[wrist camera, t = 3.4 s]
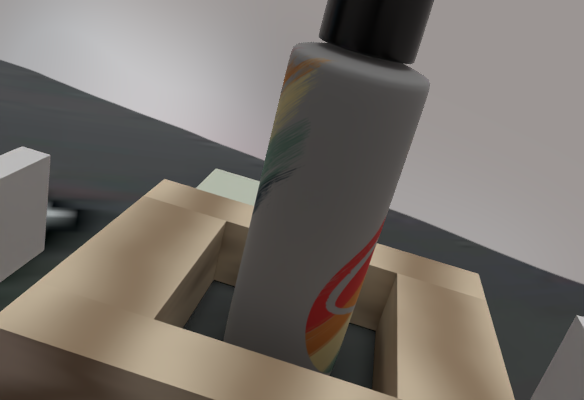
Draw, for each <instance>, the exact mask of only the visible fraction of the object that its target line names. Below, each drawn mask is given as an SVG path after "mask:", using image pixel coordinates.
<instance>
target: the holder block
mask: <svg viewBox="0 0 584 400" xmlns="http://www.w3.org/2000/svg"><path fill="white" fill-rule="evenodd" d="M253 209H254V206H252V205H249V204H245V203H242V202H239V201H235V200H232V199H229V198H225V197H222V196H219V195H216V194H212V193H209V192H206V191H202V190H199V189H196V188H192V187H189V186H186V185H183V184H179V183H176V182H173V181H169V180H166V179H164V180H163V181H162V182H160V183H159V184H158V185H157V186H155V187H154V188H153V189H152V190H150V191H149V192H148V193H147V194H145V195H144V196H143V197H142V198H141V199H139V200H138V201H137V202H136V203H134V204H133V205H132V206H131V207H129V208H128V209H127V210H126V211H124V212H123V213H122V214H121V215H120V216H118V217H117V218H116V219H115V220H113V221H112V222H111V223H110V224H108V225H107V226H106V227H105V228H103V229H102V230H101V231H100V232H99V233H97V234H96V235H95V236H94V237H92V238H91V239H90V240H89V241H87V242H86V243H85V244H84V245H82V246H81V247H80V248H79V249H78V250H76V251H75V252H74V253H73V254H71V255H70V256H69V257H68V258H66V259H65V260H64V261H63V262H61V263H60V264H59V265H58V266H57V267H55V268H54V269H53V270H52V271H50V272H49V273H48V274H47V275H45V276H44V277H43V278H42V279H40V280H39V281H38V282H37V283H36V284H34V285H33V286H32V287H31V288H29V289H28V290H27V291H26V292H24V293H23V294H22V295H21V296H19V297H18V298H17V299H16V300H15V301H13V302H12V303H11V304H10V305H8V306H7V307H6V308H5V309H3V310H2V311H1V312H0V400H515V399H514V396H513V392H512V389H511V385H510V382H509V378H508V375H507V371H506V368H505V364H504V361H503V357H502V354H501V351H500V347H499V344H498V340H497V337H496V333H495V330H494V326H493V323H492V319H491V316H490V312H489V309H488V305H487V302H486V299H485V295H484V292H483V288H482V285H481V281H480V278H479V274H477V273H473V272H470V271H467V270H463V269H460V268H457V267H454V266H450V265H447V264H444V263H440V262H437V261H434V260H430V259H427V258H424V257H421V256H417V255H414V254H411V253H407V252H404V251H401V250H397V249H394V248H391V247H387V246H384V245H381V244H378V243H377V244H376V247H375V250H374V253H373V255H372V258H371V261H370V264H369V267H368V270H367V273H366V276H365V279H364V281H363V284H362V287H361V290H360V293H359V296H358V299H357V302H356V305H355V307H354V310H353V313H352V316H351V319H350V323H353V324H356V325H359V326H362V327H365V328H369V329H372V330H375V331H376V336H375V353H374V369H373V385H372V390H371V389H368V388H365V387H362V386H358V385H355V384H352V383H349V382H346V381H343V380H340V379H337V378H334V377H331V376H328V375H324V374H321V373H318V372H315V371H312V370H309V369H306V368H303V367H300V366H297V365H294V364H290V363H287V362H284V361H281V360H278V359H275V358H272V357H269V356H266V355H263V354H260V353H257V352H253V351H250V350H247V349H244V348H241V347H238V346H235V345H232V344H229V343H226V342H223V341H219V340H216V339H213V338H210V337H207V336H204V335H201V334H198V333H195V332H192V331H189V330H185V329H183V327H184V326H185V324H186V322H187V321H188V319H189V318H190V316H191V315H192V313H193V311H194V310H195V308H196V307H197V305H198V304H199V302H200V300H201V299H202V297H203V296H204V294H205V293H206V291H207V289H208V288H209V286H210V285H211V283H212V281H213V280H216V281H219V282H223V283H226V284H229V285H232V286H235V285H236V281H237V277H238V273H239V268H240V264H241V260H242V256H243V251H244V247H245V243H246V239H247V235H248V230H249V226H250V222H251V218H252V213H253Z"/></svg>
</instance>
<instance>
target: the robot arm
mask: <svg viewBox="0 0 584 400" xmlns="http://www.w3.org/2000/svg"><path fill="white" fill-rule="evenodd" d="M49 170H50V155H49V154H45V153H42V152H39V151H35V150H32V149H29V148H26V147H20V148H17V149H15V150H12V151H10V152H8V153H5V154H3V155H0V282H1V281H2V280H4V279H5V278H7V277H8V276H9V275H11V274H12V273H13V272H15V271H16V270H17V269H19V268H20V267H22V266H23V265H24V264H26V263H27V262H28V261H30V260H31V259H32V258H34V257H35V256H37V255H38V254H39V253H41V252H42V251H43V250H44V244H45V229H46V214H47V200H48V185H49ZM530 400H584V317H581V316H578V315H576V317H575V319H574V321H573V323H572V325H571V326H570V328H569V330H568V332H567V334H566V335H565V337H564V339H563V341H562V343H561V345H560V346H559V348H558V350H557V352H556V354H555V356H554V357H553V359H552V361H551V363H550V365H549V367H548V368H547V370H546V372H545V374H544V376H543V378H542V379H541V381H540V383H539V385H538V387H537V389H536V390H535V392H534V394H533V396H532V398H531V399H530Z"/></svg>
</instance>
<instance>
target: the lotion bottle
mask: <svg viewBox="0 0 584 400" xmlns="http://www.w3.org/2000/svg"><path fill="white" fill-rule="evenodd" d="M433 2H434V0H328V1H327V5H326V9H325V13H324V17H323V21H322V25H321V28H320V33H319V38H321V39H322V40H323V41H325V42H328V43H314V42H313V43H312V42H310V43H309V42H308V43H299V44H296V45H295V46H294V47H293V49H292V52H291V55H290V59H289V63H288V66H287V71H286V74H285V79H284V83H283V87H282V91H281V95H280V99H279V103H278V108H277V112H276V116H275V121H274V125H273V129H272V133H271V137H270V142H269V146H268V150H267V154H266V158H265V163H264V167H263V171H262V175H261V180H260V184H259V188H258V192H257V196H256V201H255V205H254V209H253V213H252V218H251V222H250V226H249V230H248V235H247V239H246V243H245V247H244V251H243V256H242V260H241V264H240V268H239V273H238V277H237V281H236V285H235V290H234V294H233V298H232V302H231V307H230V311H229V315H228V320H227V324H226V329H225V334H224V341H223V342H226V343H229V344H232V345H235V346H238V347H241V348H244V349H247V350H250V351H253V352H257V353H260V354H263V355H266V356H269V357H272V358H275V359H278V360H281V361H284V362H287V363H290V364H294V365H297V366H300V367H303V368H306V369H309V370H312V371H315V372H318V373H321V374H324V375H328V376H330V373H331V371H332V369H333V366H334V364H335V361H336V359H337V356H338V353H339V350H340V348H341V345H342V342H343V339H344V336H345V333H346V330H347V328H348V325H349V322H350V319H351V316H352V313H353V310H354V307H355V305H356V302H357V299H358V296H359V293H360V290H361V287H362V284H363V281H364V279H365V276H366V273H367V270H368V267H369V264H370V261H371V258H372V255H373V253H374V250H375V247H376V244H377V241H378V238H379V235H380V232H381V229H382V227H383V224H384V221H385V218H386V215H387V212H388V209H389V206H390V203H391V201H392V198H393V195H394V192H395V189H396V186H397V183H398V180H399V178H400V175H401V172H402V169H403V166H404V163H405V160H406V157H407V154H408V151H409V149H410V146H411V143H412V140H413V137H414V134H415V131H416V128H417V125H418V122H419V119H420V116H421V114H422V111H423V108H424V104H425V101H426V98H427V95H428V92H429V87H430V83H429V80H428V79H427V78H426V77H425V76H424V75H422V74H420V73H419V72H417V71H415V70H414V69H412V68H410V67H408V66H406V65H404V64H403V63H405V64H412V63H414V61H415V58H416V55H417V52H418V49H419V46H420V43H421V40H422V37H423V34H424V30H425V27H426V24H427V21H428V18H429V15H430V11H431V8H432V5H433Z"/></svg>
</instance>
